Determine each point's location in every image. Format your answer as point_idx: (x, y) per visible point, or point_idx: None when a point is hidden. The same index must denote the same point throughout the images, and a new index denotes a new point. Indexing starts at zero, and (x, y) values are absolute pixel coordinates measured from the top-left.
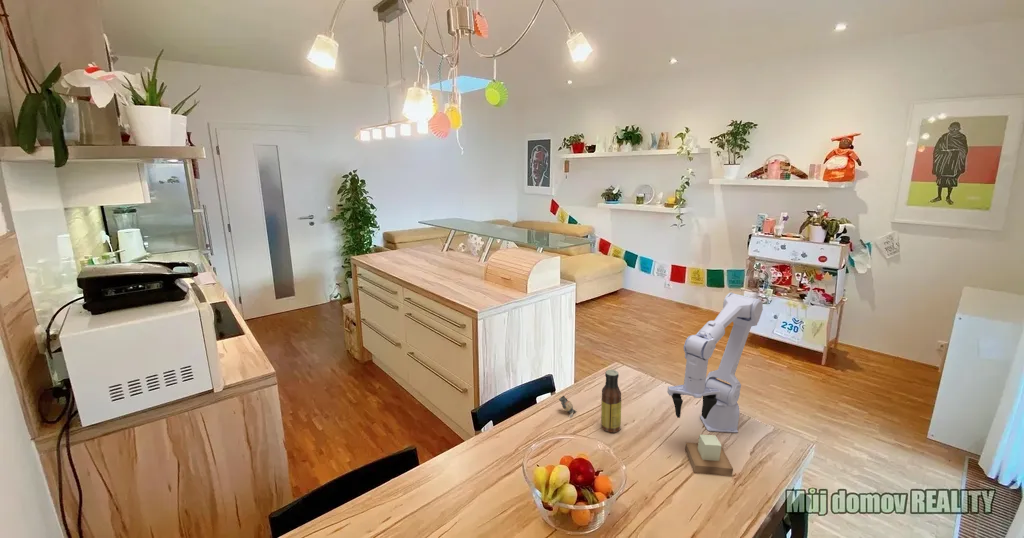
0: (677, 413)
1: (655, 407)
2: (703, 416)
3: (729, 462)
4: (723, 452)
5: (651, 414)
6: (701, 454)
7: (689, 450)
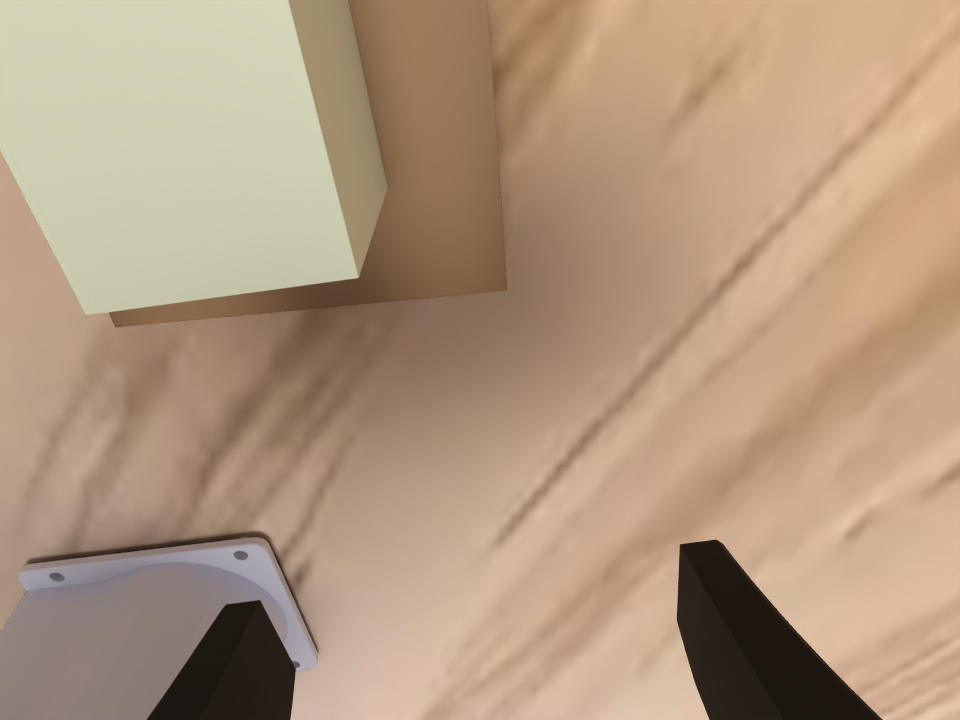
0: (773, 612)
1: (627, 679)
2: (262, 642)
3: None
4: None
5: None
6: (349, 31)
7: (491, 141)
